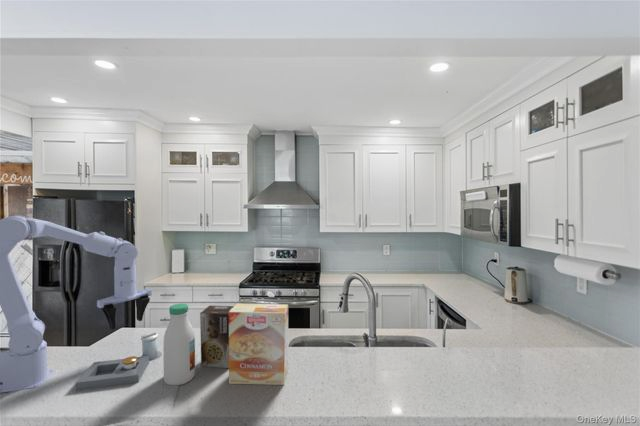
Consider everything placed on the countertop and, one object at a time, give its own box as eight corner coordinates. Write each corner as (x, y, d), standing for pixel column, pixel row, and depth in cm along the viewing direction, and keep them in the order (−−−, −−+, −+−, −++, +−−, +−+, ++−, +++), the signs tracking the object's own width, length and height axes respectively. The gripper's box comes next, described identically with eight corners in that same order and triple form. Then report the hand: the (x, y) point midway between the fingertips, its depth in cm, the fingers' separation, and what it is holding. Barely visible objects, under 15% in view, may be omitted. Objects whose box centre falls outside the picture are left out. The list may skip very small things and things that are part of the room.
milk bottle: (183, 388, 78) (182, 312, 77) (157, 384, 79) (155, 309, 78) (200, 372, 85) (200, 302, 85) (176, 368, 87) (175, 300, 86)
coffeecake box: (228, 384, 80) (227, 311, 79) (236, 369, 87) (236, 302, 86) (284, 386, 79) (284, 312, 78) (288, 370, 86) (288, 303, 86)
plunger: (120, 376, 82) (120, 363, 81) (125, 369, 85) (125, 357, 85) (134, 374, 82) (134, 361, 82) (138, 368, 86) (138, 355, 86)
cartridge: (138, 357, 92) (138, 335, 92) (153, 351, 96) (153, 330, 96) (145, 362, 89) (145, 339, 89) (161, 355, 93) (161, 334, 93)
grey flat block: (76, 392, 76) (75, 382, 76) (94, 370, 86) (94, 362, 86) (138, 383, 80) (138, 374, 80) (149, 363, 89) (149, 355, 89)
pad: (137, 363, 89) (137, 362, 89) (143, 353, 95) (143, 352, 95) (159, 360, 91) (159, 359, 91) (164, 351, 97) (164, 350, 97)
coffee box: (238, 357, 94) (238, 305, 93) (230, 368, 87) (229, 313, 86) (210, 355, 94) (209, 304, 94) (199, 366, 88) (199, 312, 87)
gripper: (103, 288, 85) (104, 336, 85) (156, 277, 97) (156, 319, 97) (93, 284, 89) (94, 329, 89) (145, 274, 101) (145, 314, 101)
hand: (126, 324), depth 94 cm, fingers open, 7 cm apart
